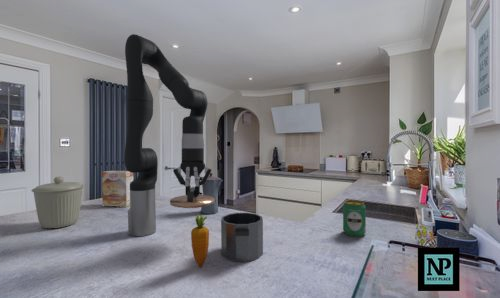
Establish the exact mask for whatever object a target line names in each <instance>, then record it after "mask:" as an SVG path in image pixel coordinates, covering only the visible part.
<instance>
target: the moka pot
mask: <svg viewBox="0 0 500 298" xmlns="http://www.w3.org/2000/svg"><path fill="white" fill-rule="evenodd" d="M203 178H204V176H200V181H202V179H203ZM223 181H224V180H223V179H222V178H220V177H218V176H213V173H212V172H211V173H210V175H209V177H208V178H207V180H206V182H205V183H204V184H203V185H201V187H202V192H200V194H199V195H208V196H212V197H214V203H213V204H211V205H208V206H203V207H200V208H201V209H200V213H202V214H204V215H215V214H218V213H219V205H218V193H219V188H220V186H221V183H222V182H223Z"/></svg>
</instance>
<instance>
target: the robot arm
mask: <svg viewBox="0 0 500 298" xmlns="http://www.w3.org/2000/svg"><path fill="white" fill-rule="evenodd" d="M124 45H125V47H124V53H125V66H126V75H127V76H126V81H127V82H126V84H127V95H126V96H127V97H126V115H127V116H126V118H127V119H126V120H127V121H126V137H125V147H124V156H123V157H124V158H123V159H124V166H125V168H126V171H129V172H131V173H133V174H134V173H135V174H136V173H139V174H138V176H137V177H136V178H135V179H133V181H132V182H131V183H130V206H129V209H128V210H127V222H128V223H127V224H128V226H127V227H128V233H127V234H128V235H129V236H134V237H143V236H144V237H146V236H149V235H152V234H155V232H156V231H157V221H156V220H157V216H156V215H157V214H156V213H157V212H156V211H157V210H156V209H157V208H156V207H157V206H156V205H157V204H156V184H157V180H158V166H159V164H158V162H159V161H158V155H157V152H156V151H155V150H154V149H153V148H150V147H142V146H143V137H144V133H145V131H146V130H147V127H148V126H149V123H151V121H152V118H153V114H154V97H153V93H152V91H151V89H150V87H149V84H148V82H147V80H146V78H145V76H144V72H143V71H144V70H143V65H148V66H149V67H151V68H153V69H154V70H155V71H156V72H157V73H158V77H159V80H160V81H161V83H162V84H163V85H164V87H166V88H167V89H168V90H169V92H171V93H172V96H173V97H174V100H175V101H176V103H177V104H178V105H179V106H181V108H183V109H186V110H190V112H189V116H188V115H187V116H185V117H183V118H182V123H181V124H182V125H181V128H182V129H181V130H182V131H181V132H182V134H181V135H182V137H181V163H180V164H179V167H177V168H174V169H173V174H174V176H175V177H176V179H177V181H178V182H179V184H180V185H182V186H185V195H187V191H188V190H190V189H191V188H192V187H191V178H192V177H194V183H195V186H194V187H195V197H198V196H199V195H200V193H201V190H200V189H201V188H200V187H201V186H202V185H203V184H204V183H205V182H206V180H207V178H208V177H209V176H210V173H212V171H213V170H212V168H209V167H207V166H206V164H205V159H204V158H205V152H204V151H205V140H204V139H205V138H204V120H205V116H206V113H207V109H208V97H207V95H206V94H205V92H203V91H202V90H198V89H195V88H192V87H190V83H189V81H188V79H187V78H186V77H185V76H184V75H183V74H181V72H180V71H178V69H176V67H175V66H173V65H172V64H171V62H169V60H168V59H167V58H166V56H165V54H164V53H163V52H162V50H161V49H160V47H158V45H157V44H156V43H155V42H153V41H152V40H151V39H147V38H145V37H143V36H140V35H138V34H135V33H134V34H133V33H132V34H130V35H129V36H128V37H127V38H126V41H125V44H124ZM182 172H183V174H184V176H185V178H184V176H183V175H182ZM203 172H204V176H203V177H204V178H203V179H202V181H200V177H201V174H202V173H203Z"/></svg>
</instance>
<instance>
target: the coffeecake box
mask: <svg viewBox="0 0 500 298" xmlns="http://www.w3.org/2000/svg"><path fill="white" fill-rule="evenodd" d="M133 180H134V173H131V172H129V171H128V170H106V171H101V183H102V184H101V185H102V187H101V188H102V191H101V192H102V195H101V196H102V206H103V205H104V206H120V207H119V208H128V207H127V206H129V207H130V183H131V182H132V181H133Z"/></svg>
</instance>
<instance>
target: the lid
mask: <svg viewBox="0 0 500 298" xmlns="http://www.w3.org/2000/svg"><path fill="white" fill-rule="evenodd" d="M169 202H170V203H169V205H171V206H172V207H175V208H182V209H197V208H201V207H203V206H208V205H211V204H213V203H214V197H212V196H208V195H203V194H202V195H200V194H199V196H198V197H195V186H192V187H191V189H190V190H188V191H187V195H186V194H185V195H178V196H175V197H172V198H170V200H169Z"/></svg>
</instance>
